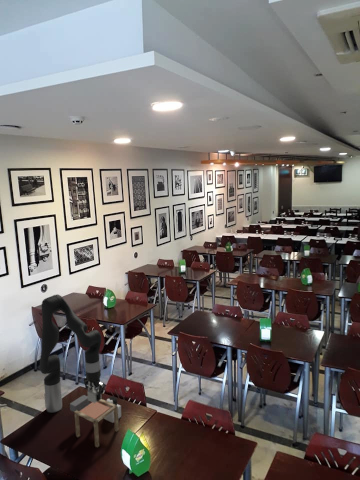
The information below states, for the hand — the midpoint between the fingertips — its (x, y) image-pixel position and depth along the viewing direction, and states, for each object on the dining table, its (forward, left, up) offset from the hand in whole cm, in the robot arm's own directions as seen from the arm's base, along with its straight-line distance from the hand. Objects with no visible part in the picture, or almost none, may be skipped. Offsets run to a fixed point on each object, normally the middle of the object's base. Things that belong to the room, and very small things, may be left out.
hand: (94, 398), depth 192 cm
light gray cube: (0, 0, 0) cm, 1 cm away
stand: (-1, +1, -22) cm, 22 cm away
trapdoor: (-6, +1, -11) cm, 12 cm away
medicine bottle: (-3, +15, -22) cm, 27 cm away
